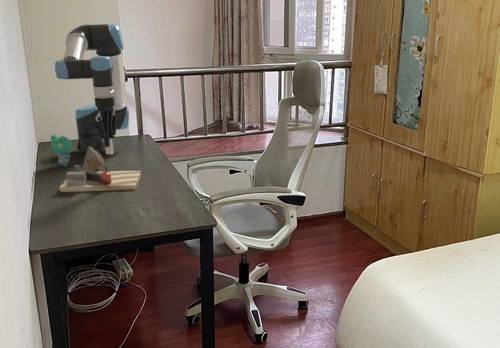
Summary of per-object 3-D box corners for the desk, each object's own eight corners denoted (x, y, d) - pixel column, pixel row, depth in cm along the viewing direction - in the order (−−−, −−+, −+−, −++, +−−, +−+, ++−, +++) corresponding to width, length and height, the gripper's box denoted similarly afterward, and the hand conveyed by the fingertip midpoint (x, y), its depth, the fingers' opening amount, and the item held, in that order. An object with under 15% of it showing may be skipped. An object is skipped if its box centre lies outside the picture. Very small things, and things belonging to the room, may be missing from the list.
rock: (113, 158, 223) (98, 156, 217) (106, 179, 225) (90, 177, 219) (98, 146, 232) (83, 144, 225) (91, 166, 234) (76, 164, 228)
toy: (50, 166, 232) (46, 135, 228) (63, 162, 239) (60, 132, 235) (64, 169, 228) (60, 137, 224) (77, 164, 235) (74, 134, 231)
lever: (83, 175, 212) (82, 166, 211) (113, 182, 204) (112, 172, 202) (77, 177, 209) (75, 168, 208) (106, 184, 201) (105, 175, 200)
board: (72, 177, 218) (70, 161, 216) (141, 174, 220) (140, 159, 218) (60, 192, 200) (57, 175, 198) (135, 189, 202) (134, 173, 200)
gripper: (102, 99, 189) (108, 159, 197) (121, 94, 200) (126, 150, 208) (85, 98, 191) (92, 157, 199) (106, 93, 203) (111, 148, 211)
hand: (109, 153), depth 204 cm, fingers closed
